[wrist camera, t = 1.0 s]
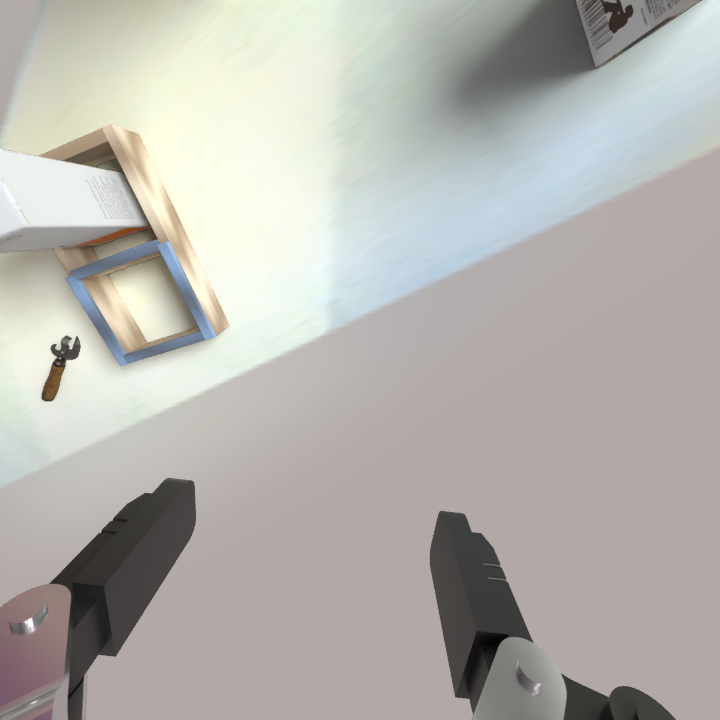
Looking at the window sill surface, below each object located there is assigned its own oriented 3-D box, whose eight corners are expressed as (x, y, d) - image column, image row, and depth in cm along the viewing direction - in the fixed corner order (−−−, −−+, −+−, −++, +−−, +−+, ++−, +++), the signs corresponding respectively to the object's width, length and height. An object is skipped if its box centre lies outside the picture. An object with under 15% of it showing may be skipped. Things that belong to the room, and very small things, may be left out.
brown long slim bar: (57, 398, 36) (47, 404, 35) (36, 386, 36) (26, 391, 35) (88, 340, 34) (79, 343, 32) (66, 325, 33) (56, 328, 32)
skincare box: (102, 246, 30) (-61, 260, 19) (74, 195, 28) (-122, 177, 17) (161, 226, 29) (27, 228, 18) (136, 173, 27) (-27, 138, 16)
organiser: (41, 176, 28) (-4, 170, 24) (139, 134, 26) (105, 122, 23) (144, 352, 33) (120, 366, 30) (229, 325, 32) (213, 337, 29)
